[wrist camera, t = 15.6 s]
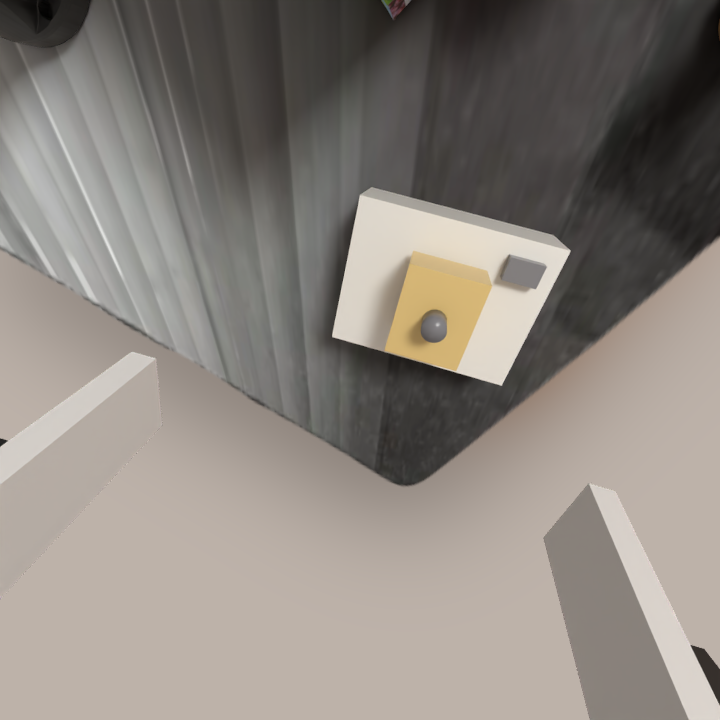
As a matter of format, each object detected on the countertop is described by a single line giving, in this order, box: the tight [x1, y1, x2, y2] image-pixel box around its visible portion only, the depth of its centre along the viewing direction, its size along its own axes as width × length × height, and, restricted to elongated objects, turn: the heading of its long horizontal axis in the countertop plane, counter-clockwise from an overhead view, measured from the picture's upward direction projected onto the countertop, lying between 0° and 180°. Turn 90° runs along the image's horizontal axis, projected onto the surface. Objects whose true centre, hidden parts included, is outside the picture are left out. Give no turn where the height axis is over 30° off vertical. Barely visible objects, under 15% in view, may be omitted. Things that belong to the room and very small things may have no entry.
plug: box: [384, 251, 492, 371], centre depth 35 cm, size 6×8×13 cm
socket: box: [332, 187, 570, 385], centre depth 37 cm, size 18×14×7 cm
